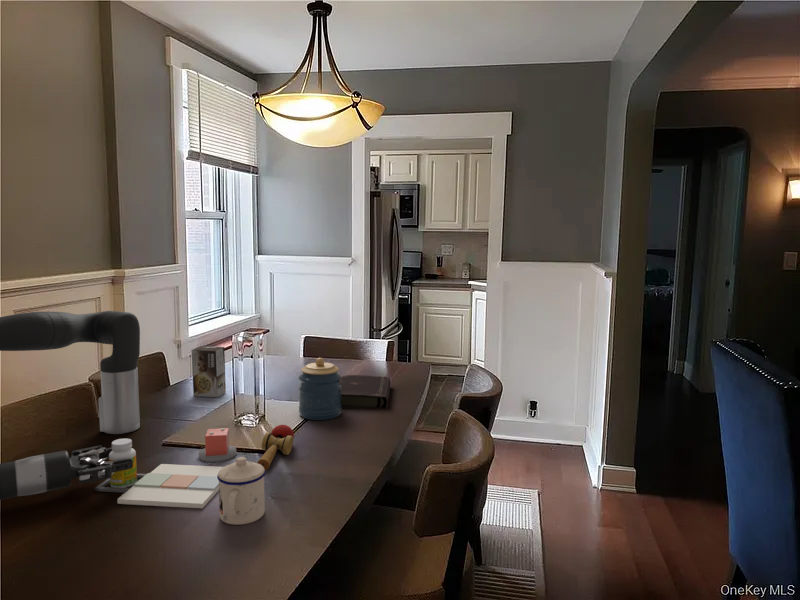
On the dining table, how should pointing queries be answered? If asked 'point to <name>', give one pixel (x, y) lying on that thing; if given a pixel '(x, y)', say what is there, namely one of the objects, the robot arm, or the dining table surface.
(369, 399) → the diary
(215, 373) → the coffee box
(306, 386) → the canister
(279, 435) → the kendama
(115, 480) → the supplement bottle
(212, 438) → the red die
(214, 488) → the game board
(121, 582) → the dining table surface
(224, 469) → the teacup with lid
